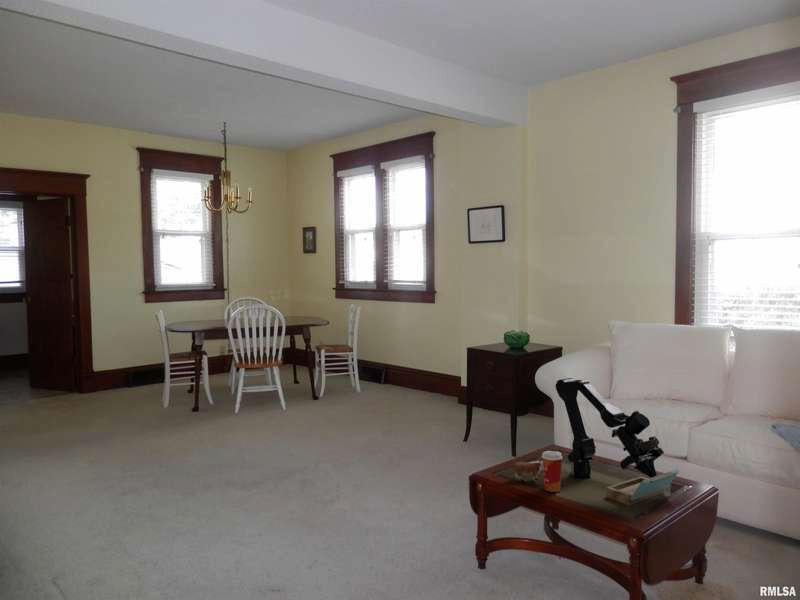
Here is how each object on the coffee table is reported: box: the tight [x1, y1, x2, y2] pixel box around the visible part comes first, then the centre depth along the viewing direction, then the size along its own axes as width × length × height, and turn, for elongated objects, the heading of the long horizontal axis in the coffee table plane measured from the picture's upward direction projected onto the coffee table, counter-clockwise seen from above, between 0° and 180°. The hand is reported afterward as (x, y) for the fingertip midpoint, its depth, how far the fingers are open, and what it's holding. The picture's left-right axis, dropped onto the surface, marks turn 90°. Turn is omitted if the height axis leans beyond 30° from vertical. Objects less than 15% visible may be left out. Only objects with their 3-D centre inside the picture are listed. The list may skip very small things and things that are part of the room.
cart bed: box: [605, 475, 665, 506], centre depth 223 cm, size 10×20×4 cm, turn 123°
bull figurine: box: [512, 460, 543, 480], centre depth 240 cm, size 4×13×8 cm, turn 78°
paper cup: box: [541, 450, 563, 491], centre depth 229 cm, size 8×8×14 cm
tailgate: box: [630, 469, 680, 501], centre depth 215 cm, size 1×20×9 cm
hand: (656, 479), depth 215 cm, fingers closed, pressing on tailgate
